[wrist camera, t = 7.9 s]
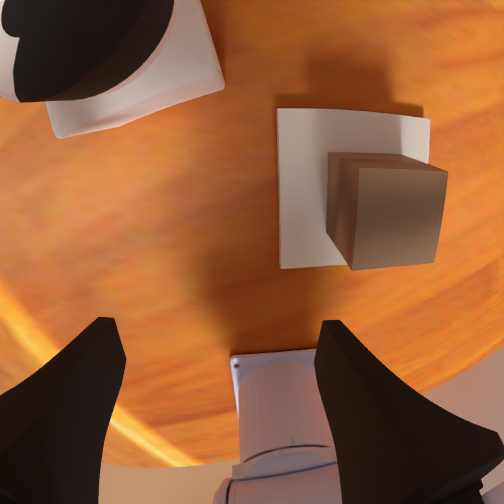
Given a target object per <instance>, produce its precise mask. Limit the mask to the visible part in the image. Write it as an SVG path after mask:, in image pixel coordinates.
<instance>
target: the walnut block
mask: <svg viewBox="0 0 504 504" xmlns="http://www.w3.org/2000/svg"><path fill="white" fill-rule="evenodd" d="M447 178H448V172H447V171H445V170H442V169H440V168H437V167H435V166H432V165H429V164H427V163H424V162H421V161H419V160H416V159H413V158H410V157H407V156H405V155H400V154H382V153H353V152H328V183H327V218H326V233H327V234H328V236H329V237H330V239H331V240H332V242H333V243H334V245H335V246H336V248H337V249H338V251H339V252H340V254H341V255H342V257H343V258H344V260H345V261H346V263H347V264H348V266H349V267H350V269H351V270H352V271H353V270H365V269H376V268H386V267H397V266H407V265H417V264H427V263H434V259H435V254H436V250H437V245H438V239H439V234H440V228H441V222H442V216H443V210H444V203H445V195H446V187H447Z"/></svg>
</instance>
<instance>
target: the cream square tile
mask: <svg viewBox="0 0 504 504" xmlns="http://www.w3.org/2000/svg"><path fill="white" fill-rule="evenodd" d="M276 123H277V154H278V196H279V264H280V268H281V269H289V268H304V267H318V266H332V265H346V264H347V263H346V261H345V260H344V258H343V257H342V255H341V254H340V252H339V251H338V249H337V248H336V246H335V245H334V243H333V242H332V240H331V239H330V237H329V236H328V234H327V233H326V218H327V183H328V152H353V153H382V154H400V155H405V156H407V157H410V158H413V159H416V160H419V161H421V162H424V163H427V164H428V158H429V141H430V119H425V118H419V117H412V116H404V115H397V114H388V113H378V112H367V111H354V110H338V109H311V108H277V109H276Z"/></svg>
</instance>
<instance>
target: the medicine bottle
mask: <svg viewBox="0 0 504 504" xmlns="http://www.w3.org/2000/svg"><path fill="white" fill-rule="evenodd" d="M224 87H225V81H224V78H223V74H222V71H221V67H220V64H219V61H218V57H217V54H216V50H215V47H214V44H213V40H212V37H211V34H210V30H209V27H208V24H207V20H206V17H205V14H204V11H203V7H202V4H201V1H200V0H0V96H1V97H2V98H5V99H7V100H10V101H14V102H43V101H45V103H46V107H47V111H48V114H49V118H50V122H51V125H52V129H53V132H54V135H55V136H56V137H57V138H59V139H63V138H67V137H71V136H76V135H80V134H85V133H89V132H94V131H99V130H104V129H109V128H115V127H119V126H121V125H124V124H126V123H129V122H131V121H134V120H136V119H138V118H141V117H144V116H146V115H149V114H151V113H154V112H157V111H159V110H162V109H165V108H168V107H171V106H173V105H176V104H179V103H182V102H185V101H188V100H191V99H195V98H198V97H201V96H204V95H208V94H211V93H215V92H218V91H221V90H223V89H224Z"/></svg>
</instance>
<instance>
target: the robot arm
mask: <svg viewBox="0 0 504 504" xmlns="http://www.w3.org/2000/svg"><path fill="white" fill-rule="evenodd" d="M125 364H126V356H125V353H124V350H123V346H122V343H121V340H120V337H119V333H118V330H117V326H116V323H115V319H114V318H108V317H98V318H97V319H96V320H95V321H93V322H92V323H91V324H90V325H89V326H88V327H87V328H86V329H84V330H83V331H82V332H81V333H80V334H79V335H78V336H77V337H76V338H75V339H74V340H72V341H71V342H70V343H69V344H68V345H67V346H66V347H65V348H64V349H63V350H61V351H60V352H59V353H58V354H57V355H56V356H54V357H53V358H52V359H51V360H50V361H49V362H47V363H46V364H45V365H44V366H43V367H41V368H40V369H39V370H38V371H36V372H35V373H34V374H32V375H31V376H30V377H28V378H27V379H25V380H24V381H23V382H21V383H20V384H18V385H17V386H15V387H13V388H12V389H10V390H8V391H7V392H5V393H3V394H2V395H0V504H98V496H99V478H100V467H101V459H102V452H103V446H104V440H105V436H106V432H107V428H108V425H109V422H110V419H111V416H112V412H113V409H114V406H115V403H116V400H117V397H118V394H119V391H120V387H121V384H122V380H123V375H124V370H125ZM235 364H239V365H235ZM230 365H231V372H232V379H233V386H234V393H235V400H236V407H237V414H238V418H239V448H240V464H238V465H233V466H232V477H230V478H226V479H224V480H223V481H222V483H221V484H220V486H219V487H218V489H217V490H216V492H215V496H214V501H213V504H504V482H502V483H501V484H499V485H498V486H496V487H495V488H493V489H491V490H490V491H488V492H486V493H485V494H483V495H482V496H481V495H480V492H479V490H480V489H481V488H483V484H482V481H481V478H483V477H484V476H485V475H487V474H488V473H489V472H490V471H491V470H493V469H494V468H495V467H496V466H497V465H499V464H500V463H501V462H502V461H503V460H504V444H503V442H502V441H501V439H500V437H499V435H498V433H497V432H495V431H492V430H489V429H487V428H484V427H481V426H479V425H476V424H473V423H471V422H469V421H466V420H464V419H462V418H460V417H458V416H456V415H454V414H452V413H450V412H448V411H446V410H445V409H443V408H441V407H439V406H438V405H436V404H434V403H433V402H431V401H430V400H428V399H427V398H425V397H424V396H422V395H421V394H419V393H418V392H416V391H415V390H414V389H412V388H411V387H410V386H408V385H407V384H406V383H404V382H403V381H402V380H401V379H399V378H398V377H397V376H396V375H395V374H394V373H393V372H391V371H390V370H389V369H388V368H387V367H386V366H385V365H384V364H382V363H381V362H380V361H379V360H378V359H377V358H376V357H375V356H374V355H373V354H372V353H371V352H370V351H369V350H368V349H367V348H366V347H365V346H364V345H363V344H362V343H361V342H360V341H359V340H358V339H357V338H356V337H355V335H354V334H353V333H352V332H351V331H350V330H349V329H348V328H347V327H346V326H345V325H344V324H343V323H342V322H341V321H340V320H324V321H323V322H322V327H321V331H320V336H319V340H318V345H317V348H316V349H307V350H297V351H286V352H274V353H260V354H244V355H233V356H231V358H230Z"/></svg>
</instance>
